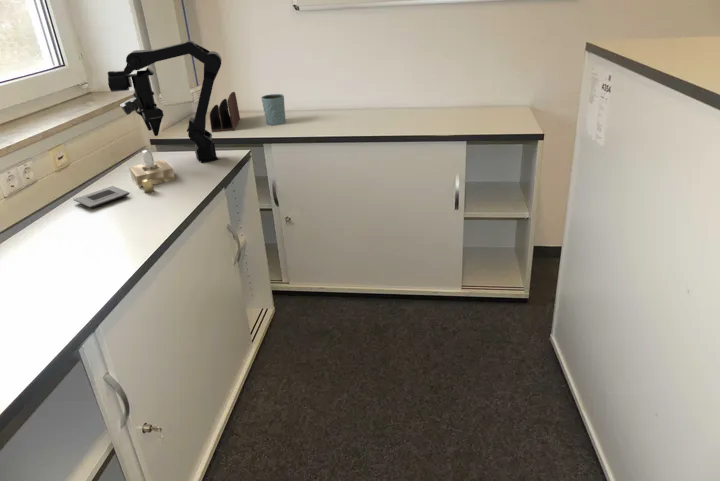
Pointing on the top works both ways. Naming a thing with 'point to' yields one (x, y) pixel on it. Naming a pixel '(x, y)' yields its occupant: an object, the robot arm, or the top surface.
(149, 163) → the steel pin
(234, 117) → the letter holder
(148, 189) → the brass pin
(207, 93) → the robot arm
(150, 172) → the hole block
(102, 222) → the top surface
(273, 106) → the teal embossed pot
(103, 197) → the grey rectangular tray
